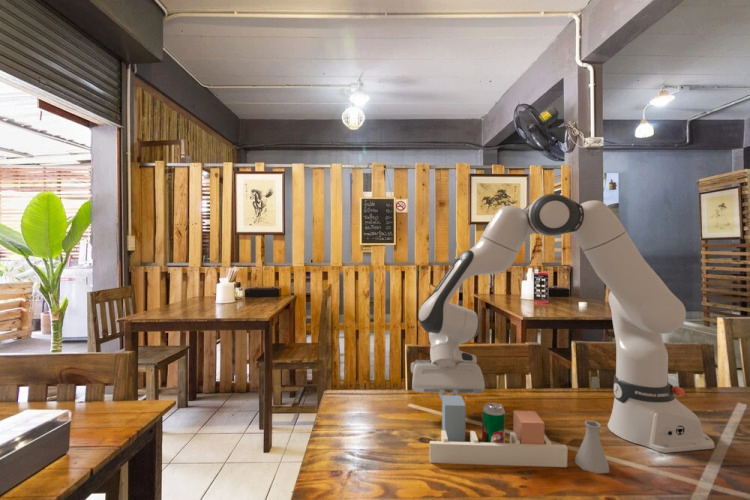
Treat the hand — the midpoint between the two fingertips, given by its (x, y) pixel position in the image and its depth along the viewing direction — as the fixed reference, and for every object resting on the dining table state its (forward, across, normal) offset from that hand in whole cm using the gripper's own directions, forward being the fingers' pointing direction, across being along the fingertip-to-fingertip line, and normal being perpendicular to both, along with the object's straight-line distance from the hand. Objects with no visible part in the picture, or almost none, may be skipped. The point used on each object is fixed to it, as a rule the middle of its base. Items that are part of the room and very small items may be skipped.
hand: (449, 407), depth 105 cm
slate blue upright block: (+8, 0, -2) cm, 8 cm away
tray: (+11, +8, -5) cm, 15 cm away
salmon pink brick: (+13, +16, -8) cm, 22 cm away
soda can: (+14, +8, -7) cm, 18 cm away
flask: (+16, +29, -9) cm, 34 cm away
